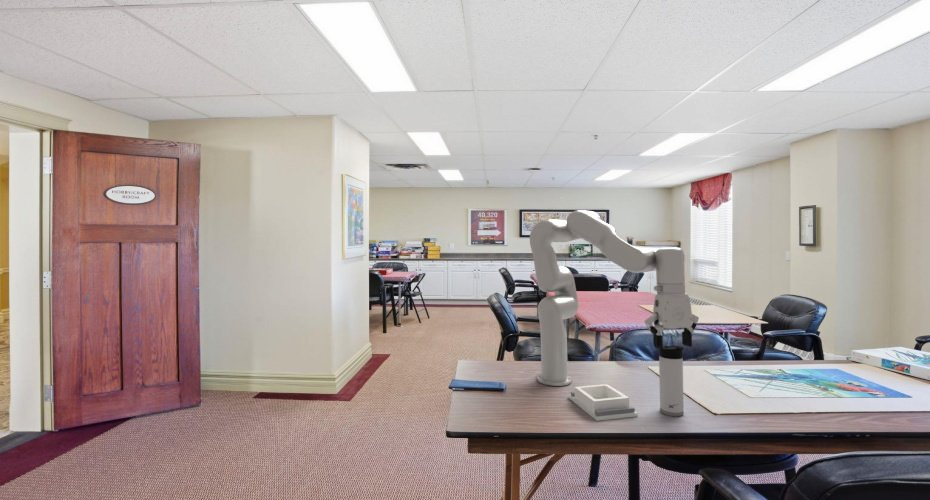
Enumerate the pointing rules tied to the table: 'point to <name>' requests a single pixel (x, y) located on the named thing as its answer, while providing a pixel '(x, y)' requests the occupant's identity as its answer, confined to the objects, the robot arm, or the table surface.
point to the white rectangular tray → (602, 402)
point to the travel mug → (671, 380)
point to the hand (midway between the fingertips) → (672, 346)
